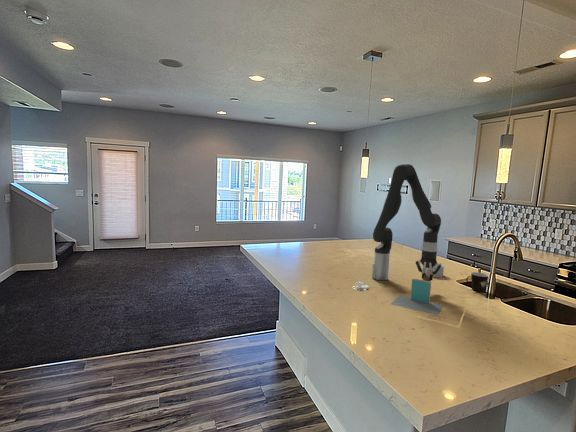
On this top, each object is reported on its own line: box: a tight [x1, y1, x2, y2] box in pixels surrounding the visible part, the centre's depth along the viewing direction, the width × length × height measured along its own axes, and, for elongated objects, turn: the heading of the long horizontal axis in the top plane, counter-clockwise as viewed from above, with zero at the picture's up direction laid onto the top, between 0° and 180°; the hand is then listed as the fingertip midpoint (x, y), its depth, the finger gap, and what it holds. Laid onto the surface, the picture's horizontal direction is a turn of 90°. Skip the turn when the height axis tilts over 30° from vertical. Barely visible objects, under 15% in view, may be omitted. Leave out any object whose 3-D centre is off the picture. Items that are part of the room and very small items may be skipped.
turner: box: [422, 269, 430, 281], centre depth 175 cm, size 6×18×4 cm, turn 146°
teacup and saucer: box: [352, 280, 369, 292], centre depth 185 cm, size 9×8×4 cm
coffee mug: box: [465, 271, 489, 294], centre depth 187 cm, size 12×9×10 cm
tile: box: [410, 278, 432, 303], centre depth 165 cm, size 9×2×11 cm, turn 55°
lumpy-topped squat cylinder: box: [425, 262, 445, 278], centre depth 218 cm, size 10×13×9 cm
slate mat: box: [390, 294, 444, 316], centre depth 160 cm, size 22×16×1 cm
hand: (427, 280), depth 177 cm, fingers closed on turner, 2 cm apart
